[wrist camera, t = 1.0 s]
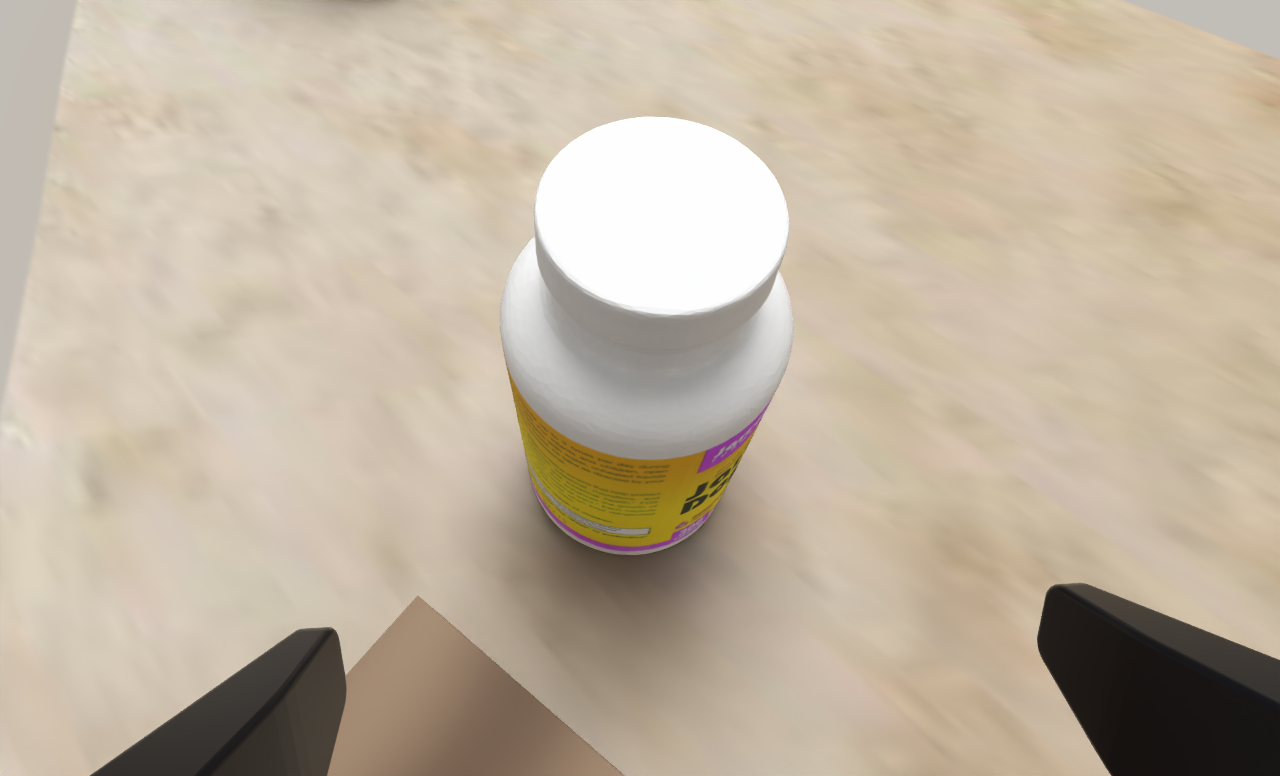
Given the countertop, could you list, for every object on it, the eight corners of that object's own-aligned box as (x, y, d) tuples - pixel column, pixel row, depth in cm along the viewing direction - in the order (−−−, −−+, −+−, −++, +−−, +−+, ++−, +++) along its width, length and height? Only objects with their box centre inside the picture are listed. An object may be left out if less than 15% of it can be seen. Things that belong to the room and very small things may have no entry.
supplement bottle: (678, 596, 22) (769, 438, 11) (493, 506, 23) (397, 273, 12) (752, 422, 25) (887, 151, 14) (586, 349, 26) (582, 38, 15)
